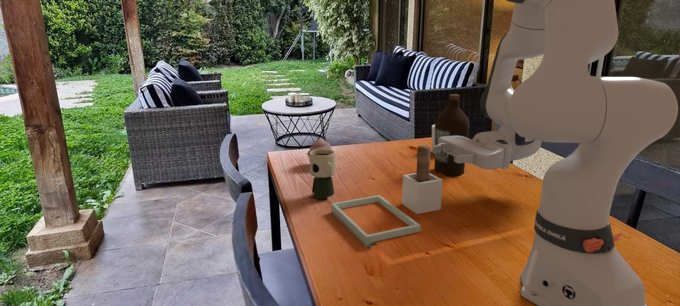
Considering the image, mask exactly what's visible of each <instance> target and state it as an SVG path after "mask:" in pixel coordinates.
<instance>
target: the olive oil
mask: <svg viewBox="0 0 680 306" xmlns="http://www.w3.org/2000/svg"><path fill="white" fill-rule="evenodd" d="M447 101H448V103H447V107H446V108H445V109H444V110H443V111H442V112H441V113H440V114H439V115H438V116H437V117H436V119H435V123H434V125H435V145H438V139H439V138H440V137H442V136H464V137H467V138H469V136H470V135H469V134H470V129H471V128H470V127H471V126H470V119H469V117H468V115H466V114H465V112H464V111H463V110H462V109H461V107H460V101H461V99H460V94H457V93H450V94H449V95H448V99H447ZM465 166H466V163H459V164H458V163H456V162H454V156H452V155H450V154H448V153H446V152H443V151H441V152H440V153H435V154H434V172H436V173H437V174H438V173H440V174H442V175H444V176H447V177H455V176H461V175H463V174H464V173H465Z"/></svg>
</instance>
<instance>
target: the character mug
mask: <svg viewBox="0 0 680 306" xmlns="http://www.w3.org/2000/svg"><path fill="white" fill-rule="evenodd" d="M309 151H310V150H309ZM309 157H310V158H309ZM308 158H309V174H310V175H311V176H312V177H313V180H312V181H313V182H312V190H311V195H313V198H315V199H323V200H324V199H327V198H330V197H333V195H335V192H334V191H335V190H334V189H335V188H334V183H333V178H332V176H334V175H335V174H336V151H335V150H332V149H331V150H330V149H316V150H312V151H310V153H309V156H308Z"/></svg>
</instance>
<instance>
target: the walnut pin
mask: <svg viewBox="0 0 680 306" xmlns="http://www.w3.org/2000/svg"><path fill="white" fill-rule="evenodd" d="M431 150H432V146H429V145H418V146H417V155H416V171H415V173H416V181H417V182H419V183H420V182H426V181H429V173H430V168H431V167H430V165H431Z"/></svg>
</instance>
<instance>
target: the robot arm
mask: <svg viewBox="0 0 680 306" xmlns="http://www.w3.org/2000/svg"><path fill="white" fill-rule="evenodd" d="M505 1H507V2H509V3H514V5H513V10H512V15H511V21H510V26H509V30H508V31H507V33H505V34H504V35H503V36H502V37H501V39H500V41H499V42H498V45H497V47H496V51H495V55H494V58H493V62H492V65H491V70H490V73H489V77H488V80H487V83H486V86H485V89H484V90H483V91H484V92H482V95H481V98H480V102H479V107H480V112H481V114H482V115H483V116H484V117H486V118H488V119H489V120H492V121H493V122H495V123H496V124H498V125H500V127H499V129H497V130H491V131H489V130H488V131H482V132H478V133H476V134H475V135H474V136H473V138H472V139H471V138H469V137H468V138H467V137H464V136H442V137H440V138H439V139H438V145H435V146H432V145H431V152H434V153H440V152H441V151H443V152H446V153H448V154H450V155H452V156H454V162H456V163H458V164H459V163H465V164H469V165H473V166H476V167H478V168H480V169H483V170H496V169H502V170H505V169H509V167H510V163H511V162H512V161H513V162H514V161H519V160H522V159H526V158H530V157H531V156H533V155H535V154H536V153H538V152H539V150H540V148H541V147H542V142H545V143H565V144H566V143H570V144H571V143H575V144H576V143H577V144H579V145H578V147H576V148H575V150H574V151H573V152H572V153H571V154H570V155H567V157H565V158H562V159H559V161H555V162H554V163H553V164H551V165H550V166H549V167H548V169H546V171H545V173H544V175H543V179H542V185H541V192H540V193H541V194H540V195H541V196H540V201H539V207H538V209H537V210H536V214H535V219H534V225H533V229H534V231H535V233H534V239H533V242H532V245H531V246H532V247H531V250H530V252H529V253H530V254H529V256H528V259H527V261H526V264H525V266H524V268H523V270H522V272H521V274H520V281H521V284H522V287H521V290H520V295H521V296H522V297H523V298H524V299H525V300H528V301H530V302H531V303H533V304H535V305H537V306H649V305H647V304H646V290H645V285H644V282H643V280H642V279H641V278H640V276H639V275H638V274H637V273H636V272H635V271H634V269H633V268H632V267H631V266H630V265H629V263H628V262H627V261H626V259H624V257H623V255H622V254H621V253H620V252H619V251H618V250H617V248H616V247H615V242H617V241H620V240H622V238H621V236H622V235H623V233H622V232H620V233H617V234H613V230H612V226H611V222H610V221H609V219H610V213H611V209H612V204H613V201H614V196H615V193H616V189H617V186H618V184H619V181H620V178H621V177H622V175H623V173H624V172H625V170H626V169H627V167H629V164H631V162H632V161H633V160H634V159H635V158H636V157H637V156H638V155H639V154H640V152H642V151H643V150H644V149H646V148H647V147H648V146H649V145H651V144H653V143H654V142H656V141H658V140H659V139H661V138H663V137H665V136H666V135H667V134H668V133H669V131H670V130H671V129H672V128H673V127H674V125H675V123H676V120H677V118H678V113H679V105H678V99H677V96H676V95H675V92H674V90H672V88H671V87H670V86H669V85H668V84H666V83H665V82H662V81H657V80H654V79H650V78H649V79H648V78H642V77H639V76H638V77H637V76H594V75H591V74H590V73H589V64H591V63H593V62H597V61H598V60H599V59H601V58H603V57H604V56H606V55H607V54H609V53H610V52H611V51H612V49H613V48H614V47H615V46H616V44H617V42H618V39H619V25H618V18H617V10H616V2H615V0H505ZM541 56H542V59H541V61H540V64H539V65H538V67H537V68H536V70H535V71H534V72H533V73H532V74H531V75H529V77H528V78H526V79H525V80H524V81H522V82H521V83H520V84H519V85H518V86H517V87H516V88H515V89H514V88H513V86H512V80H513V78H514V77H513V76H514V73H515V70H516V67H517V64H518V61H519V59H520V60H521V59H522V60H525V59H534V58H537V57H541ZM434 153H433V154H434Z"/></svg>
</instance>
